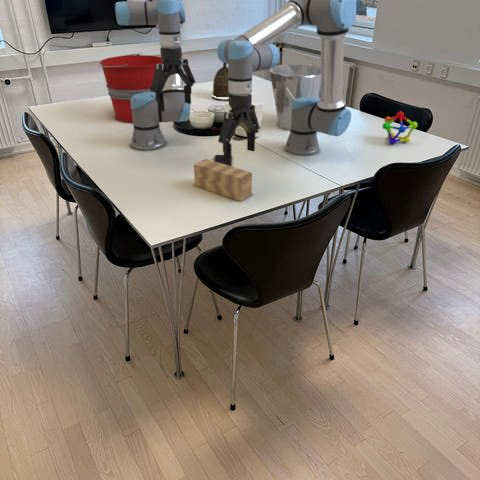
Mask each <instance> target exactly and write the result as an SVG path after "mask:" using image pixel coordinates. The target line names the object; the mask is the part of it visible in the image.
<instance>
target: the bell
mask: <svg viewBox="0 0 480 480" xmlns="http://www.w3.org/2000/svg"><path fill="white" fill-rule="evenodd" d="M227 65H228V64H227V63H224V62H222V67H221V68H219V69H218V70H217V71H216V73H215V75H214V78H213V81H212V83H213V84H212V95H214V96H216V97H229V94H230V93H229V92H228V80H229V69H228V66H227Z"/></svg>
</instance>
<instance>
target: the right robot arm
mask: <svg viewBox="0 0 480 480" xmlns="http://www.w3.org/2000/svg"><path fill="white" fill-rule="evenodd" d="M356 3H357V2H356V0H288V1H286V2H284V4H282V6H281V9H279V10H277V11H276V12H275V13H273V14H271V15H270V16H269V17H268V16H267V18H265V19H264V20H262V21H261V22H259V23H258V24H256V25H254V26H253V27H251V28H250V29H248V30H246V31H244V32H243V33H242V34H241V35H239V36H237V37H236V38H234V39H223V40H221V41H220V42H219V43H218V46H217V49H216V52H217V53H216V54H217V58H218V59H219V61H220V62H221V63H223V62H224V63H227V64H226V65H227V68H228V69H229V80H228V92H229V93H230V94H229V100H228V106H229V107H230V112H229V111H224V113H223V120H222V125H221V129H220V133H219V137H218V140H217V142H218V143H220V144H222V153H223V155H224V161H225V162H228V163H231V164H232V160H231V156H232V143H231V141H232V138H233V136H234V134H235V132H236V129H237V127H238V126H239V125H240V124H242V123H244V125H245V126H246V128H247V130H248V132H247V136H246V137H247V142H246V143H247V144H246V146H247V147H246V149H247V151H250V152H255V151H256V149H255V148H256V134H259V130H260V123H259V120H258V116H257V113H256V105H255V104H253V103H252V97H253V95H252V92H253V82H252V81H253V73H255V72H260V71H265V70H267V71H269V70H270V69H271V68H274V67H275V66H278V65H279V62H280V58H281V57H280V55H281V54H280V51H279V48H278V47H277V46H276V45H275V44H272V42H274V41H276V40H277V39H278V38H279V37H281V36H283V35H284V34H285V33H287V32H288V31H290V30H296V29H298V28H300V27H303V26H315V27H316V35H317V36H318V37H319V38H320V67H321V99H319V98H318V97H302V98H297V99H295V100H294V101H293V104H292V109H291V110H292V112H291V130H289V131H290V132H289V135H288V137H287V140H286V142H285V145H284V146H285V147H284V149H285V151H286V152H288V153H290V154H292V155H297V156H311V155H314V154H317V153H318V152H319V150H320V144H319V140H318V136H317V135H318V134H317V132H318V133H321V134H325V135H328V136H330V137H331V136H332V137H340V136H341V135H343V134H344V133H345V132H346V131H347V129H348V128H349V125H350V123H351V121H352V112H351V110H350V109H349V108H347V102H346V99H344V98H343V89H344V87H343V86H344V57H345V36H346V35H348V33H349V30H350V29H351V27H352V26H353V25H354V24H355V20H356V19H357V18H356V17H357V4H356Z"/></svg>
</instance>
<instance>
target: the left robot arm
mask: <svg viewBox="0 0 480 480" xmlns="http://www.w3.org/2000/svg"><path fill="white" fill-rule="evenodd" d="M114 11H115V17H116V22H117V24H118V25H119V26H126V27H127V26H155V28H156V29H157V30H158V38H159V39H158V40H159V46H160V49H159V50H160V57H161V58H162V64H158V63H156V64H155V73H154V77H153V81H152V85H151V89H150V91H149V92H142V93H138V94H136V95H134V96H133V97H132V98H131V109H132V117H133V123H132V125H133V132H132V135H131V142H130V143H131V147H132V148H134V149H135V150H141V151H151V150H153V151H154V150H157V149H161V148H163V147H164V146H165V144H166V140H165V137H164V135H163V132H162V130H161V127H160V123H173V122H174V123H175V122H176V123H181V122H187V121H189V120H190V115H191V104H192V94H193V93H192V87H194V84H196V80H195V77H194V74H193V72H192V70H191V67H190V65H189V60H188V58H185V57H184V58H183V51H182V47H181V46H182V38H181V37H182V35H181V30H182V29H183V27H184V26H183V24H185V23H186V14H185V7H184V2H183V0H126V1H125V0H123V1H117V2H116V3H115V5H114ZM162 70H163V71H162ZM163 87H164V88H163Z"/></svg>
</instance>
